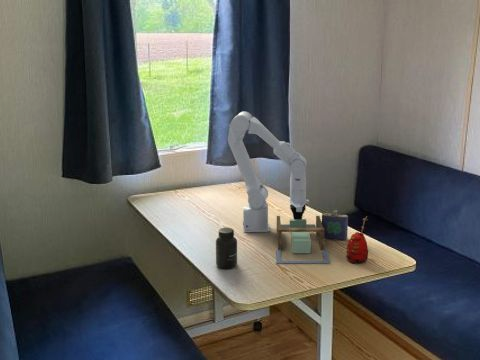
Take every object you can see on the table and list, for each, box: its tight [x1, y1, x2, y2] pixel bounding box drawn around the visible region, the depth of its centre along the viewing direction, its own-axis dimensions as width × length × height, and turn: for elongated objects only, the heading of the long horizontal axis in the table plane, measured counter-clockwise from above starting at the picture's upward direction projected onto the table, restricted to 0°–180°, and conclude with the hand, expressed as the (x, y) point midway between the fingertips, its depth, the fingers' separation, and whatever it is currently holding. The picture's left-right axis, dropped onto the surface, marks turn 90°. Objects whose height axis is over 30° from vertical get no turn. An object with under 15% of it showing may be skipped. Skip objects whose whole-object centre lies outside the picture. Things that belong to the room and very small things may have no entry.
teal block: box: [289, 218, 312, 254], centre depth 187 cm, size 6×20×5 cm, turn 178°
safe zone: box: [275, 249, 331, 265], centre depth 176 cm, size 17×10×1 cm, turn 88°
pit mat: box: [281, 223, 316, 228], centre depth 201 cm, size 14×6×1 cm, turn 88°
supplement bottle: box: [215, 227, 238, 270], centre depth 169 cm, size 7×7×12 cm
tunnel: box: [276, 215, 325, 251], centre depth 188 cm, size 16×16×7 cm
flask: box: [321, 209, 349, 241], centre depth 189 cm, size 9×3×11 cm, turn 74°
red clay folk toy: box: [345, 216, 369, 264], centre depth 171 cm, size 8×7×15 cm
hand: (297, 224), depth 198 cm, fingers closed
